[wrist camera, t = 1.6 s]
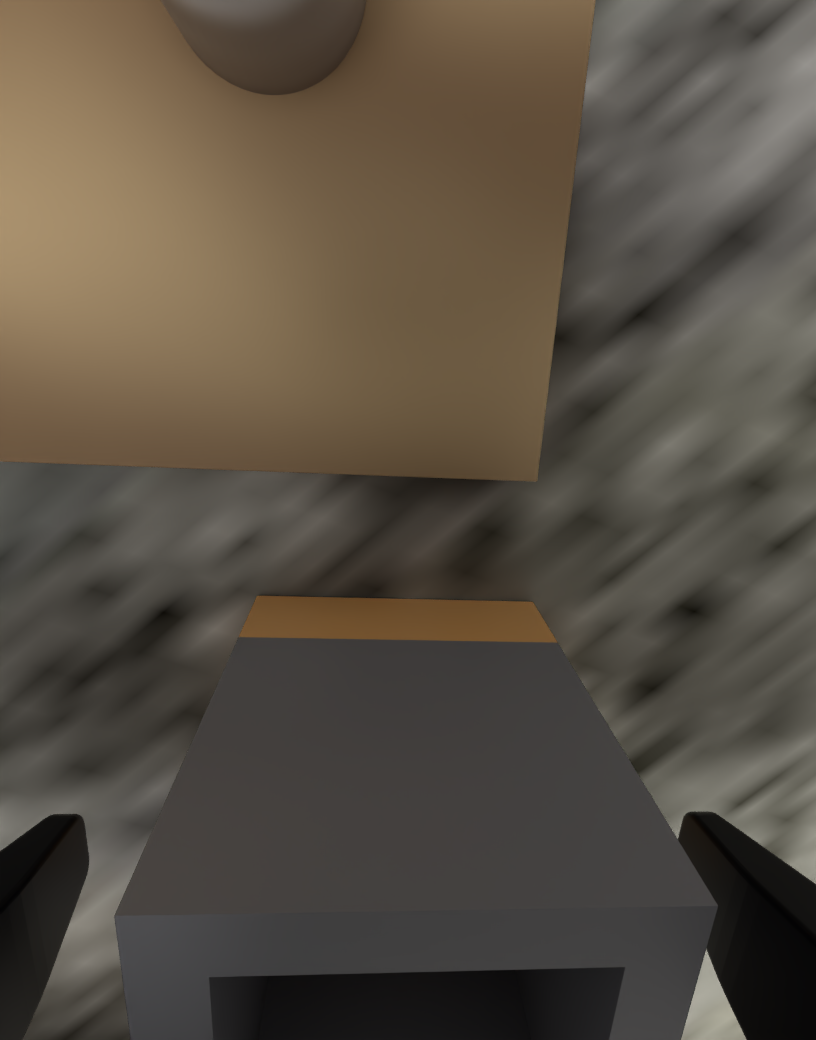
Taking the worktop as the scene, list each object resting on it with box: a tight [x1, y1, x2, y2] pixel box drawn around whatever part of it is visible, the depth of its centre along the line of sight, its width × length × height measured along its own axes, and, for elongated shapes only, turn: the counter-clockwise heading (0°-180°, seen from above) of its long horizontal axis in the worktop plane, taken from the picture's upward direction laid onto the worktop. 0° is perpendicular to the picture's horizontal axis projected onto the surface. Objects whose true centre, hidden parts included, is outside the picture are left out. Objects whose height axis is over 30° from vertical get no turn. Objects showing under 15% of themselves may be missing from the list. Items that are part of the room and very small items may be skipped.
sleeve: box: [114, 596, 718, 1040], centre depth 8 cm, size 5×5×6 cm
